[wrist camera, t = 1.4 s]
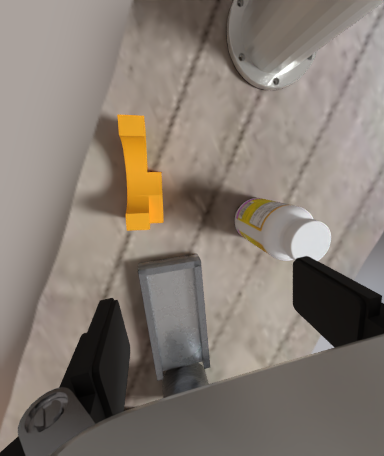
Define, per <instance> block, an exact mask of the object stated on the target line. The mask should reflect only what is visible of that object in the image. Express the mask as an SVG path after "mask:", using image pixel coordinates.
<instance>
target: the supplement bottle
mask: <svg viewBox="0 0 384 456" xmlns="http://www.w3.org/2000/svg"><path fill="white" fill-rule="evenodd" d="M235 227H236V229H237V231H238V233H239V234H240V235H241V236H242V237H244V238H245V239H247V240H248V241H250V242H251V243H253V244H254V245H256V246H257V247H259V248H260V249H262V250H263V251H265V252H266V253H268V254H269V255H271V256H272V257H274V258H276V259H278V260H283V261H289V260H296V258H299V257H304V256H309V257H311V258H313V259H314V260H316V261H318V260H320V259H321V258H322V257H323V256H324V255H325V254H326V252H327V250H328V249H329V246H330V243H331V233H330V230H329V228H328V227H327V226H326V225H325V224H324V223H322V222H320V221H317V220H314V218H313V217H312V215H311V214H310V213H309V212H308V211H307V210H305V209H304V208H302V207H298V206H294V205H289V204H284V203H280V202H275V201H271V200H266V199H261V198H253V199H250V200H247V201H246V202H244V203H243V204H242V205H241V206H240V207H239V208H238V210H237V212H236V215H235Z"/></svg>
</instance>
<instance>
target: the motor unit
mask: <svg viewBox="0 0 384 456" xmlns="http://www.w3.org/2000/svg"><path fill="white" fill-rule="evenodd" d="M138 274H139V279H140V285H141V291H142V296H143V302H144V308H145V313H146V319H147V325H148V330H149V336H150V342H151V347H152V353H153V358H154V364H155V370H156V375H157V381H158V380H162V379H163V398H165V397H169V396H172V395H175V394H178V393H181V392H185V391H188V390H191V389H195V388H198V387H201V386H205V385H208V384H209V383H208V380H207V376H206V373H205V370H204V369H206V368H210V360H209V349H208V337H207V326H206V314H205V303H204V292H203V280H202V269H201V260H200V258H199V256H198V255H197V254H194V255H187V256H181V257H175V258H169V259H163V260H156V261H150V262H144V263H139V266H138ZM198 362H203V365H204V368H203V366H202V365H201V364H199V363H198ZM165 370H167V371H166V373H165V374H164V377H163V371H165Z"/></svg>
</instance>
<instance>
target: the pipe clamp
mask: <svg viewBox="0 0 384 456" xmlns="http://www.w3.org/2000/svg"><path fill="white" fill-rule="evenodd" d="M117 116H118V128H119V136H120V138H121V142H122V146H123V151H124V157H125V165H126V176H127V210H126V227H127V231H129V230H150V223H163V196H162V176H161V172H148V170H147V151H146V131H145V121H144V116H137V115H117Z"/></svg>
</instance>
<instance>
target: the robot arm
mask: <svg viewBox="0 0 384 456" xmlns="http://www.w3.org/2000/svg"><path fill="white" fill-rule="evenodd" d="M383 2H384V0H234V1H233V3H232V5H231V8H230V12H229V15H228V20H227V43H228V49H229V53H230V56H231V58H232V61H233V63H234V65H235V67H236V69H237V70H238V72H239V73H240V74H241V75H242V77H243V78H244V79H245V80H246V81H248V82H249V83H250V84H251V85H253V86H255V87H257V88H260V89H264V90H279V89H283V88H285V87H287V86H289V85H291V84H292V83H294V82H295V81H297V80H298V79H299V78H300V77H302V76H303V75H304V74H305V72H306V71H307V70H308V68H309V67H310V65H311V64H312V62H313V60H314V58H315V55H316V52H317V51H318V50H319V49H320V48H322V47H323V46H324V45H326V44H327V43H329V42H330V41H331V40H333V39H334V38H335V37H337V36H338V35H340V34H341V33H342V32H344V31H345V30H346V29H348V28H349V27H350V26H352V25H353V24H355V23H356V22H357V21H359V20H360V19H361V18H363V17H364V16H366V15H367V14H368V13H370V12H371V11H372V10H374V9H375V8H377V7H378V6H379V5H381V4H382V3H383ZM239 59H240V60H239ZM381 300H382V296H381V295H380V294H378V293H376V292H374V291H372V290H370V289H368V288H367V287H365V286H363V285H361V284H359V283H357V282H355V281H354V280H352V279H350V278H348V277H346V276H344V275H342V274H340V273H339V272H337V271H335V270H333V269H331V268H329V267H327V266H326V265H324V264H322V263H320V262H318V261H316V260H314V259H313V258H311V257H309V256H304V257H299V258H296V260H295V261H294V262H293V306H294V308H295V310H296V311H297V312H298V313H299V314H300V315H301V316H302V317H303V318H304V319H305V320H306V321H307V322H308V323H310V324H311V325H312V326H313V327H314V328H315V329H316V330H317V331H318V332H319V333H320V334H321V335H322V336H323V337H324V338H325V339H326V340H327V341H328V342H329V343H330V344H332V345H333V346H334V347H335V348H332V349H328V350H325V351H321V352H318V353H314V354H310V355H307V356H304V357H300V358H297V359H293V360H290V361H286V362H283V363H279V364H276V365H273V366H269V367H266V368H262V369H259V370H255V371H252V372H249V373H245V374H242V375H238V376H235V377H232V378H228V379H225V380H222V381H218V382H215V383H212V384H208V385H205V386H201V387H198V388H195V389H191V390H188V391H185V392H181V393H178V394H175V395H172V396H169V397H165V398H162V399H159V400H156V401H153V402H150V403H147V404H143V405H140V406H138V407H135V408H132V409H129V410H126V411H124V404H125V395H126V386H127V377H128V368H129V359H130V344H129V340H128V336H127V332H126V329H125V325H124V321H123V317H122V314H121V310H120V306H119V302H118V300H115V301H114V299H113V298H109V299H105V300H101V301H100V302H99V304H98V307H97V309H96V312H95V314H94V317H93V319H92V322H91V324H90V327H89V329H88V332H87V333H84V334H82V336H81V337H80V340H79V342H78V345H77V347H76V349H75V352H74V354H73V356H72V359H71V361H70V363H69V366H68V368H67V371H66V373H65V375H64V378H63V380H62V382H61V385H60V387H59V388H56V389H53V390H51V391H49V392H47V393H45V394H44V395H42V396H41V397H39V398H38V399H37V400H36V401H35V402H34V403H32V404H31V406H30V407H29V408H28V409H27V410H26V412H25V413H24V415H23V416H22V418H21V420H20V423H19V426H18V437H17V438H16V439H15V440H14V441H13V442H11V443H10V444H9V445H8V446H7V447H6V448H5V449H4V450H3V451H1V452H0V456H384V304H383V303H381Z"/></svg>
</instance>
